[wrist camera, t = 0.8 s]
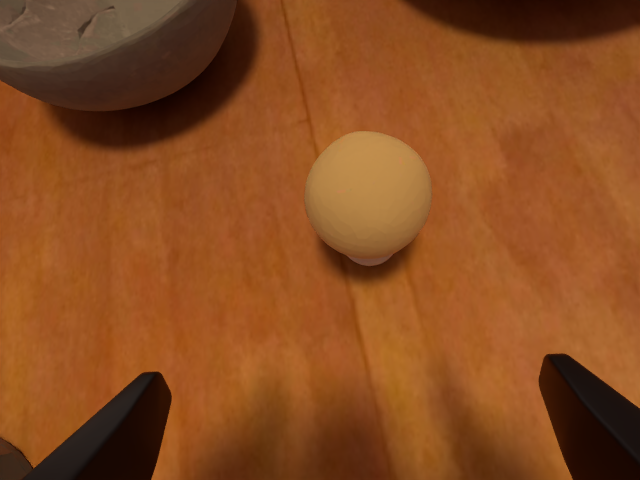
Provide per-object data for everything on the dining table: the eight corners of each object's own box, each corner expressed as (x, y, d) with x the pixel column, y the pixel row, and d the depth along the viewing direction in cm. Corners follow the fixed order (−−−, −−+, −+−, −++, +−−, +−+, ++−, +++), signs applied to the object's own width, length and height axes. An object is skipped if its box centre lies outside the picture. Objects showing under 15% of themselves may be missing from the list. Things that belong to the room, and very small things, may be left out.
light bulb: (434, 225, 26) (466, 137, 17) (388, 306, 25) (395, 260, 15) (352, 185, 28) (340, 86, 19) (305, 258, 26) (266, 191, 17)
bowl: (238, 162, 30) (176, 63, 21) (16, 150, 33) (-122, 61, 24) (282, -23, 36) (250, -162, 27) (92, -17, 40) (7, -137, 31)
